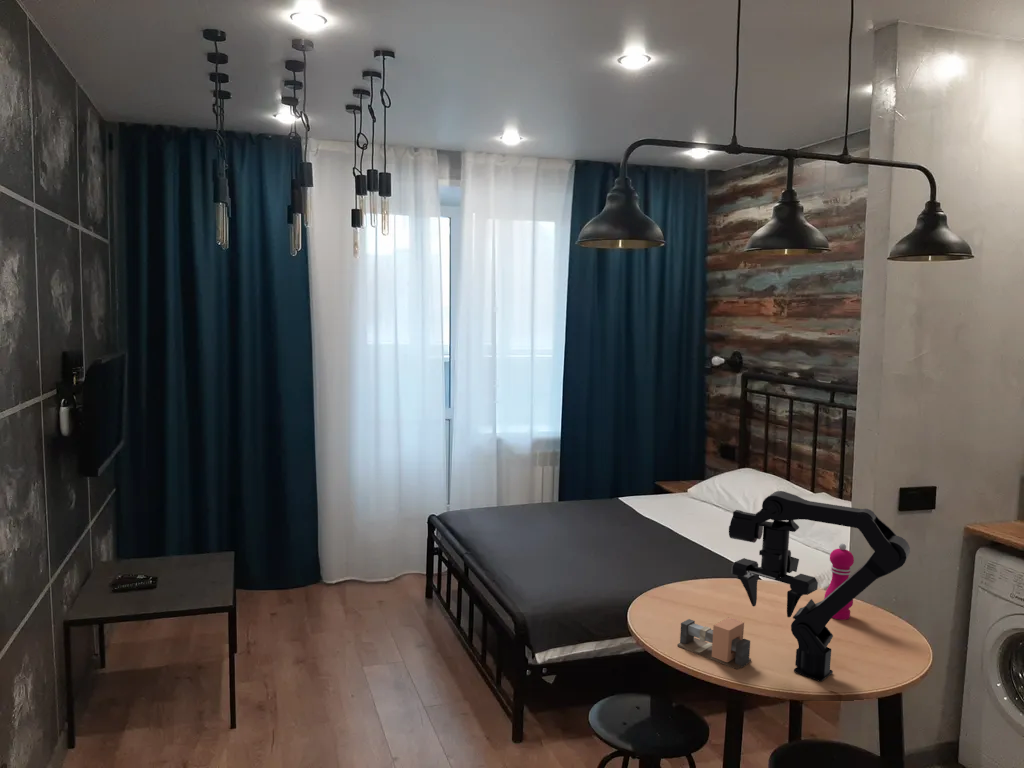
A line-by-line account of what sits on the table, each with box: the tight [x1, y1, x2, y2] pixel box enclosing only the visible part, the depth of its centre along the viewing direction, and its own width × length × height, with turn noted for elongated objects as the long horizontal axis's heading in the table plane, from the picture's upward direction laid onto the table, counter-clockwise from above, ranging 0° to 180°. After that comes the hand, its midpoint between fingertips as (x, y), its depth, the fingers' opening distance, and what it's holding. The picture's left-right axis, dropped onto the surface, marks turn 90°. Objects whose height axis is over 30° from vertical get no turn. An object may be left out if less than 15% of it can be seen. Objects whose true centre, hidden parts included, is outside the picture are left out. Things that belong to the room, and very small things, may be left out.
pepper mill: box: [823, 543, 855, 621], centre depth 208 cm, size 7×7×20 cm
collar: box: [711, 616, 745, 662], centre depth 181 cm, size 4×7×8 cm, turn 135°
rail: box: [677, 618, 752, 670], centre depth 184 cm, size 16×6×5 cm, turn 45°
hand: (771, 611), depth 180 cm, fingers open, 8 cm apart
